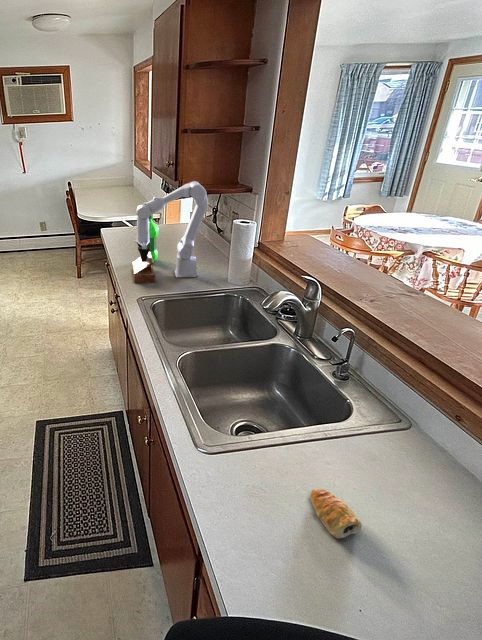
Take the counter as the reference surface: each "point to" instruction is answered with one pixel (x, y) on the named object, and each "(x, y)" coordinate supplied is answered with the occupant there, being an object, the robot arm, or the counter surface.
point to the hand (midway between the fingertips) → (143, 258)
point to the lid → (142, 264)
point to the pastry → (334, 514)
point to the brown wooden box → (145, 275)
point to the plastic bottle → (153, 237)
